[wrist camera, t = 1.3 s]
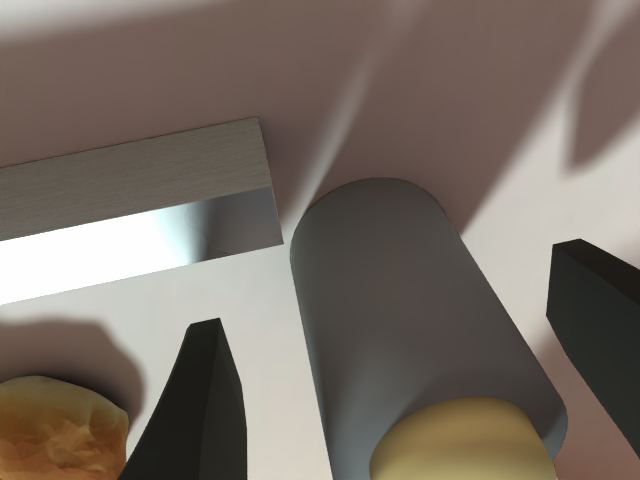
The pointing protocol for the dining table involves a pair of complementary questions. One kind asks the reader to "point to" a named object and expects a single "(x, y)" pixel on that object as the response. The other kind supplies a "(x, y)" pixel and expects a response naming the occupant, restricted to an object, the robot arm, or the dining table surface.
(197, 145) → the metal brackets
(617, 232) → the dining table surface
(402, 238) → the grey canister
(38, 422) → the pastry
